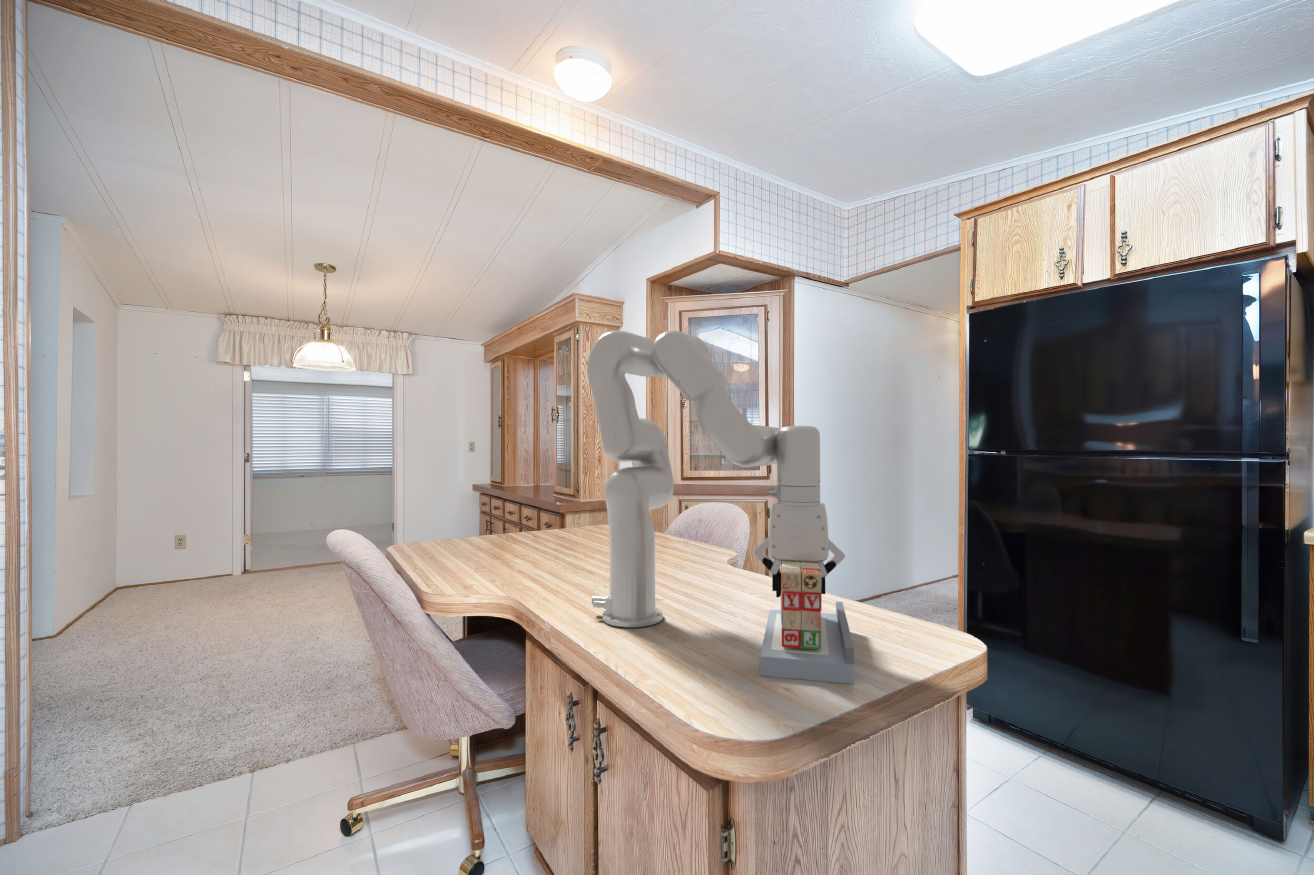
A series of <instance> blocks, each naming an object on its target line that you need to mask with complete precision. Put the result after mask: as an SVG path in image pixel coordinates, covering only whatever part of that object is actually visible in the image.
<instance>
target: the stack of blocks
mask: <svg viewBox="0 0 1314 875" xmlns="http://www.w3.org/2000/svg"><path fill="white" fill-rule="evenodd" d="M779 569H780V572H781V596H780V610H781V623H782V624H781V635H782V647H789V648H805V649H818V650H821V613H822V602H823V601H822V594H821V587H822V573H821V571H820V567H819V565H818V563H817V562H799V561H782V563H781V565H780V568H779Z"/></svg>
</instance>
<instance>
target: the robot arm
mask: <svg viewBox="0 0 1314 875" xmlns="http://www.w3.org/2000/svg"><path fill="white" fill-rule="evenodd" d="M586 366H587V368H586V369H587V375H588V377H587V378H588V381H589V385H590V389H591V392H592V396H593V397H592V398H593V400H594V405H595V411H596V412H595V413H596V417H597V422H598V428H599V432H600V439H601V443H602V448H603V451H604V453H605V455H606V456H607V458H608V459H610V460H612V461H615V462H620V463H622V462H623V463H628V462H631V464H632V466H630V467H629V466H628V467H623V468H620V469H618V470H616V471H614V472H613V473H612V474H610V476H609V477H608V479H607V481H606V483H605V487H604V501H605V506H606V510H607V511H606V512H607V516H608V529H609V530H608V531H609V532H608V535H609V536H608V538H609V540H608V541H609V543H608V544H609V595H606V596H602V595H600V596H599V595H593V596H592V598H591V605H592V607H593V608H599V609H600V608H602V609H604V611H603V612H602V621H603V622H604V623H606V624H608V625H610V626H614V627H621V628H641V627H648V626H652V625H655V624H658V623H660V622H661V621H662V620H663V618H664V616H663V615H664V614H663V611H662V610H661V609H659V608H658V607H656V538H655V537H656V536H655V526H654V522H653V519H652V515H651V512H650V510H651V511H652V510H655V509H660V508H662V507H664V506H666V505H667V504H668V503H669V502H670V501H671V499H672V497H673V496H674V491H675V490H674V489H675V486H674V485H675V484H674V483H675V482H674V480H675V479H674V475H673V470H672V466H671V465H672V464H671V460H670V456H669V451H668V450H669V449H668V446H667V440H666V437H665V435H664V433H663V430H662V429H661V428H660V426H659V424H657V423H656V422H654V421H653V420H650V419H647V418H640V417H639V414H638V410H637V405H636V399H635V396H634V392H633V390H632V388H631V386H630V384H629V382H628V381H627V378H626V374H628V375H634V376H639V377H644V378H645V377H646V378H668V379H669V380H670V382H671V383H672V384H673V385H674V386H675V387H676V389H677V390H679V392H680V393H681V394H682V396H684V397H685V399H686V400H687V401H688V402H689V404H690V405H691V406H692V407H693V411H694V413H695V416H696V418H697V421H698V424H699V425H700V427H701V429H702V430H703V432H704V433H705V434H706V436H707V438H708V439H709V440H710V441H711V443H713V445H715V447H716V448H717V449H718V450H719V451H720V453H722V455H723V456H724V457H726V459H727V460H728V461H730V462H732V464H734V465H736V466H739V467H743V468H751V467H752V468H753V467H762V466H763V467H764V466H765V467H766V466H771V465H776V486H775V487H771V488H768V496H770V497H774V498H776V501H774V502H772V504H771V510H770V516H769V529H768V530H769V532H768V537H767V538H765V540H763V541H762V542H761V543H760V544H759V545H758V546H757V547H756V548H754V549H753V555H754V556H756V558H758V560H760V561H761V563H762V564H763V565H764V567H766V569H768V570H769V572H770V573H771V574H772V579H771V580H772V581H771V582H772V583H771V584H772V585H771V586H772V587H771V588H772V592H775V593H776V594H775V596H776V598H781V572H780V565H781V563H782V561H799V562H817V563H818V565H819V567H820V571H821V573H822V587H821V595H826V577H827V576H828V575H829V574H830V573H831V572H832V571H833V570H834V569H836V567H837V566H838V565H839V564H840V563H841V562H842V561H844V560H845V558H846V556H845V552H843V551H842V550H841V549H840V548H839V547H838V546H837V545H836V544H835V543H834V542H833V541H832V540H831V539H829V537H830V536H829V523H828V515H827V514H828V513H827V509H826V504H825V503H822V502H821V434H820V433H821V432H820V430H819V429H818V428H817V427H816V426H815V427H814V426H811V425H786V426H781V427H775V426H774V427H773V426H766V425H758V424H752V423H751V422H750V421H749V420H748V419H747V417H745V416H744V415H743V413H741V412H740V410H739V409H738V408H737V407H736V406H735V404H734V403H733V402H732V400H731V399H730V397H729V395H728V392H727V389H728V382H729V381H728V379H727V377H726V375H725V374H724V373H723V372H722V371H721V370H720V368H718V367H717V366H716V365H715V363H714V362H712V360H711V353H710V349H709V348H708V346H707V344H706V343H705V342H704V340H702V339H701V338H699V337H697V336H694V335H692V334H689V333H686V332H684V331H680V330H667V331H665V332H663V333H661V334H659V335H658V336H657V337H656V338H655V339H654V338H649V337H645V336H643V335H639V334H636V333H632V332H628V331H625V330H624V331H623V330H612V331H608V332H606V333H603V334H602V335H601V336H599V337H598V338H597V339H596V340H595V342H594V343H593V345H592V346H591V349H590V350H589V355H588V358H587V364H586ZM767 549H768V552H769V553H768V554H769V556H770V558H772V559H773V561H772V559H770V558H769V557H768V556H767V555H766V553H765V551H766V550H767ZM829 551H830V552H831V553H832V554H833V555H834V556H832V558H831V559H830V560H829V561H827V560H828V558H829V553H830V552H829ZM825 561H827V562H826V563H825V564H824V562H825Z"/></svg>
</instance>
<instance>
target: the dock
mask: <svg viewBox="0 0 1314 875" xmlns="http://www.w3.org/2000/svg"><path fill="white" fill-rule="evenodd" d="M845 611H846V610H845V607H844V603H843V601H835V613H829V612H821V650H818V649H805V648H789V647H782V635H781V624H782V623H781V609H769V611H768V616H767V622H766V625H765V626H766V627H765V632H764V636H763V640H762V646H761V652H760V656H759V657H760V660H759V661H760V665H759V666H760V667H759V668H760V676H765V677H773V678H786V679H795V680H804V681H805V680H806V681H818V682H825V683H826V682H828V683H837V684H848V685H855V647H854V643H853V639H852V634H851V631H850V627H849V624H848V623H849V622H848V618H847V615H846V612H845Z"/></svg>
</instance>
